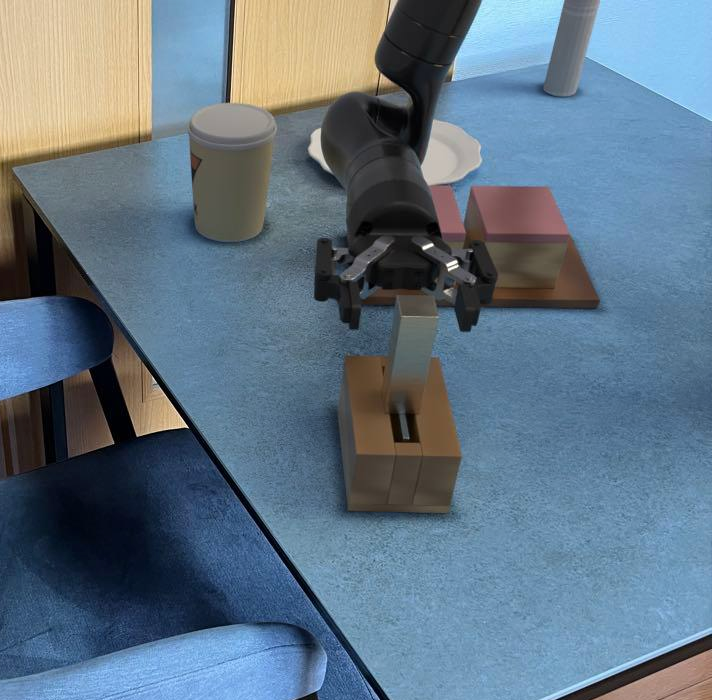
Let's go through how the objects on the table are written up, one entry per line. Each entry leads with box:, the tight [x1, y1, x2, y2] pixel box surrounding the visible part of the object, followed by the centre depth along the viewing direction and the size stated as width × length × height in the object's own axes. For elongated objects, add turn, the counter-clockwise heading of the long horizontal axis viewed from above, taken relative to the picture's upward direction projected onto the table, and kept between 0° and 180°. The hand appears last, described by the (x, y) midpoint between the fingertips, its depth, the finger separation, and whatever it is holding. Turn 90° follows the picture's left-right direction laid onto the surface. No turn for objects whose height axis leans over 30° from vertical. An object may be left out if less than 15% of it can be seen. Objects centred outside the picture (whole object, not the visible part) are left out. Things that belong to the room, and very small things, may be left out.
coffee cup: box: [187, 102, 278, 243], centre depth 112 cm, size 9×9×12 cm
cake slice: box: [428, 184, 466, 287], centre depth 106 cm, size 4×10×6 cm, turn 177°
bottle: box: [543, 0, 601, 98], centre depth 134 cm, size 4×4×20 cm
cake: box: [346, 185, 601, 309], centre depth 106 cm, size 24×14×7 cm, turn 87°
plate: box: [307, 118, 483, 185], centre depth 126 cm, size 21×21×2 cm
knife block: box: [337, 355, 463, 514], centre depth 85 cm, size 8×13×6 cm, turn 177°
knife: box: [381, 295, 440, 443], centre depth 81 cm, size 3×9×14 cm, turn 177°
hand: (411, 321), depth 79 cm, fingers open, 8 cm apart
